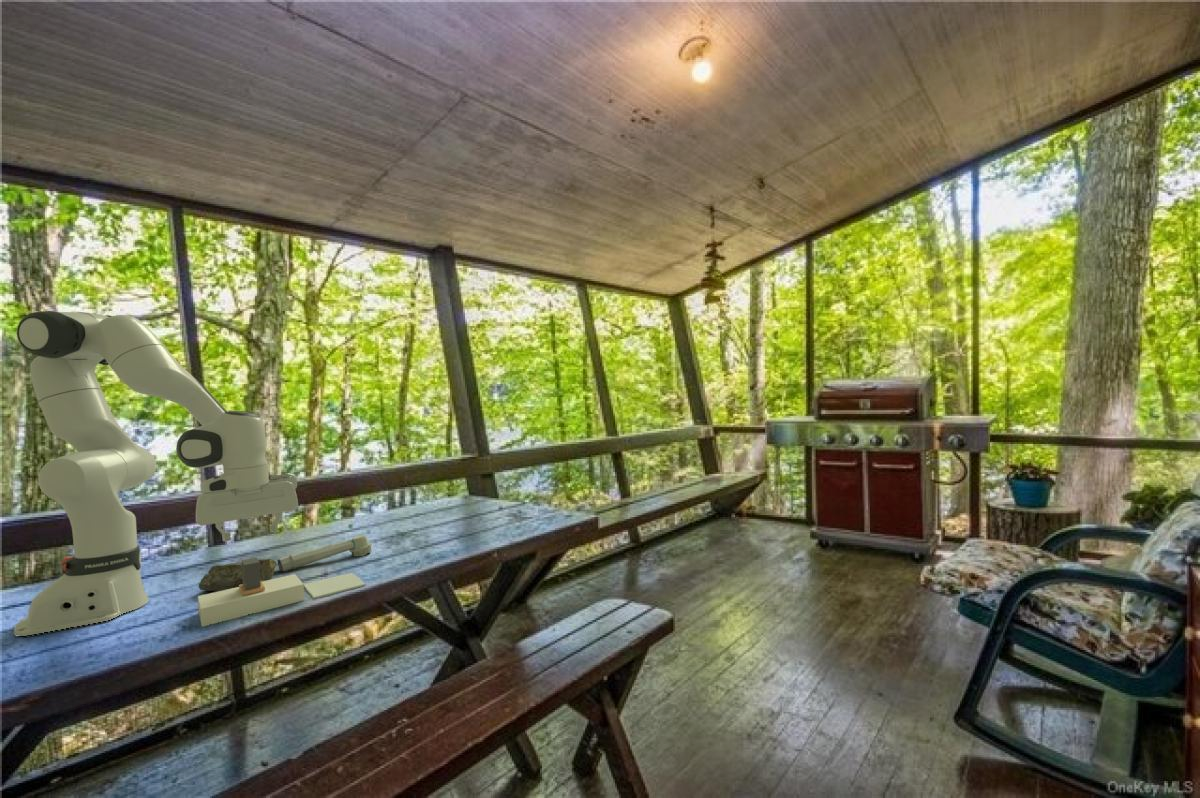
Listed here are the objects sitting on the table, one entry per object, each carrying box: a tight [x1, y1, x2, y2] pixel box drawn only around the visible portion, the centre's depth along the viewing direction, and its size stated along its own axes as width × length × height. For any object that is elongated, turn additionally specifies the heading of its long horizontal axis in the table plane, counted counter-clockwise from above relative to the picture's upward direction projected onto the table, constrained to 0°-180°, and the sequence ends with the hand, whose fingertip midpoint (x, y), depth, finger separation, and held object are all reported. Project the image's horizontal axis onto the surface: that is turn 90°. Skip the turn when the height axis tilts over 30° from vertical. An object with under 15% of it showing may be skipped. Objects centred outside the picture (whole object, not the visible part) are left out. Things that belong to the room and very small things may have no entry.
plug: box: [239, 557, 265, 596], centre depth 124 cm, size 4×6×11 cm
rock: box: [198, 558, 277, 592], centre depth 139 cm, size 17×7×10 cm
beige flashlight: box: [276, 534, 373, 573], centre depth 157 cm, size 5×7×25 cm
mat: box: [303, 572, 367, 600], centre depth 136 cm, size 12×12×1 cm
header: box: [197, 573, 305, 628], centre depth 124 cm, size 20×10×4 cm, turn 131°
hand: (250, 535), depth 124 cm, fingers open, 8 cm apart
